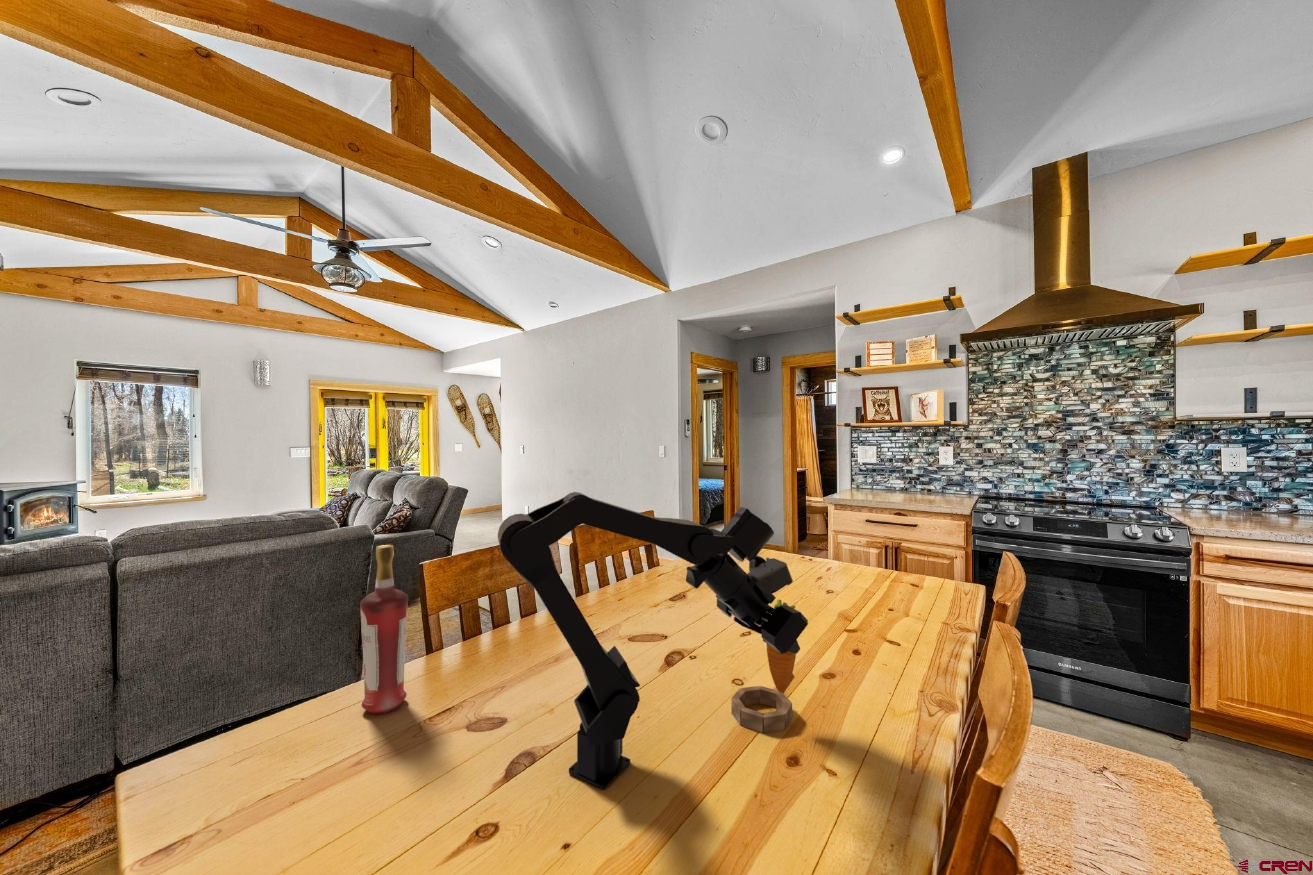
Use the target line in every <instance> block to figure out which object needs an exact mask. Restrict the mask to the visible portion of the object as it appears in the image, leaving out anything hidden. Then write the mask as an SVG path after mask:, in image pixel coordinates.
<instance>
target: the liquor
mask: <svg viewBox="0 0 1313 875" xmlns="http://www.w3.org/2000/svg"><path fill="white" fill-rule="evenodd" d="M375 559H376V564H377V566H376V567H377V568H376V577H375V586H374V591H373V592H371V593H369V594H367V595H366V596H365V597H364V598H363V599H362V600H361V601H360V602H359V604H360V605H359V606H360V607H359V608H360V626H361V628H360V630H361V632H360V633H361V644H362V655H363V657H362V658H363V681H364V682H363V686H364V698H363V700H362V702H361V707H362V709H364V710H366V711H367V712H369V713H371V714H373V715H383V714H387V713H391V712H392V711H394V710H396V709H397V708H398V707H399V706H400V705H401V704H402V703H403V701H405V699H406V698H407V696H408V694H407V692H406V691H405V660H406V641H407V640H406V639H407V630H408V629H407V627H408V626H407V625H408V607H409V606H408V604H409V595H408V594H407V593H406V592H404V591H403V590H402V589H397V588H395V582H394V572H393V561H394V560H393V559H394V545H393V544H385V545H384V544H382V545H377V546H376V547H375Z"/></svg>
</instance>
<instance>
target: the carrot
mask: <svg viewBox="0 0 1313 875" xmlns="http://www.w3.org/2000/svg"><path fill="white" fill-rule="evenodd" d="M782 605H788V606H790V607H792V608H794V609H796V606H795V605H793V604H792V605H789V604H788V603H787V602H783V603H782V599H778V600H776V603H775V604H773V608H774V609H775V608H777V607H779V606H782ZM766 653H767V655H766V656H767V662H768V666H769V667H768V668H769V672H770V674H771V678H772V681H773V683H774V686H775V688H777V690H778V691H779V692H780V693H781V692H782V693H783V692H784V691H785V689H786V688H787V686H788V684H789V683H790V681H791V678H792V677H793V672H794V667H795V663H796V662H795V661H796V657H797V654H795V653H792V652H789V651H787V653H784V654H781V653H780V652H778V651H777V650H775V649H774V648H773V647H771V646H770V645H768V644H767V643H766ZM791 676H792V677H791Z"/></svg>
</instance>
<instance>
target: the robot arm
mask: <svg viewBox="0 0 1313 875" xmlns="http://www.w3.org/2000/svg"><path fill="white" fill-rule="evenodd" d="M580 525H586V526H590V527H593V528H597V529H600V530H603V531H607V532H611V533H614V534H618V535H621V536H624V537H629V538H631V539H636V540H638V541H641V542H646V543H649V544H653V545H655V546H657V547H659V548H661V549H663V550H665V551H666V552H669V553H670V554H672V555H674V556H676V557H677V558H680V559H682V560H684V561H686V562H688V563H690V564H692V566H687V567H686V574H685V576H686V577H685V582H686V583H687V584H688V585H689V586H691V587H693V588H694V589H699V588H700V587H701V585H702V584H703V583H704V584H705V585H707V587H708V588H709V589H710V590H711V591H712V592H713V593H714V594H715V596H714V597H715V598H716V607H717V608H718V609H719V610H720V611H721V612H722V613H723V614H724V615H726V616H727V617H728V618H731V617H733V621H734V622H735V623H737V624H738V625H740V626H741V627H742V628H743V627H744V628H746V629H748V630H750V631H752V632H754V633H757V634H759V635H761V638H762V642H764V643H765V644H766V645H767V644H768V645H770V646H771V647H773V648H774V649H775V650H777V651H778V652H780V653H781V654H784V653H787V651H789V652H792V653H795V654H796V655H797V654H798V653H799V652H800V650H801V647H800V645H799V642H798V638H799V637H800V636H801V634H802V633H803V632H804V631H805V629H806V628H807V627H808V625H809V622H808V619H807V618H806V617H805V615H804V614H803V613H802V612H801V611H799V610H797V609H796V608H792V607H790V606H791V605H789V604H788V605H782V606H779V607H777V608H775V609H774V606H773V607H772V606H771V604H772V603H773V602H774V601H775V600H776V597H777V596H775V595H774V594H775V593H777V592H778V591H780V590H781V589H783V588H785V587H786V586H790V585H792V583H793V582H794V580H793V577H792V575H791V572H790V570H789V568H788V564H787V562H785V561H782V560H779V559H778V558H773V557H772V558H769V557H766V558H765V559H764V558H763V556H760V555H758V554H759V553H760V552H761V551H762V550H763V549H764V548H765V546H766V544H767V543H768V542H769V541H770V540H771V539H772V537H774V535H775V532H774V530H773V528H772V526H770V525H769V524H768V523H767V522H765V521H763V520H762V519H761V518H760V517H759V516H757V515H755V514H754V513H752V511H751V510H750V509H749V508H746V507H744V506H743V507H742V506H741V507H739V508H738V509H737V510H736V512H735V513H734V515H733V517H732V518H731V519H730V520H729V522H727V524H726V525H725V526H724V527H723V528H722V529H721V531H720V530H717V529H715V528H712V527H711V528H708V527H707V526H705V525H702V524H700V523H697V522H694V521H692V520H689V519H680V518H672V517H658V516H657V517H656V516H655V517H654V516H652V515H648V514H645V513H642V512H639V511H634V510H633V509H629V508H625V507H622V506H618V505H615V504H612V503H608V502H605V501H603V500H599V499H596V498H593V497H590V496H588V495H586V494H583V493H582V492H580V491H579V492H578V491H573V492H569V493H567V494H566V495H565V496H564V497H561V498H559V499H558V500H555V501H553V502H551V503H547V504H545V505H543V506H541V507H538V508H536V509H534V510H532V511H531V512H530V511H529V513H527V514H525V513H514V514H513V515H509V516H507V518H505V519H504V520H502V523H501V524H500V525H499V529H498V531H497V541H498V544H499V549H500V552H501V554H502V556H503V557H504V559H505V560H506V561H507V562H508V563H509V564H510V565H511V567H512V568H514V570H515V571H516V572H517V573H518V574H519V575H520V576H521V577H522V578H523V579H524V580H525V581H526V582H528V584H529V585H531V587H532V588H533V589H534V590H535V591H536V593H537V595H538V596H539V598H540V600H541V601H542V604H543V605H544V606H545V608H546V610H547V611H548V613H549V614H550V616H551V618H552V619H553V621H554V623H555V625H556V626H557V627H558V629H559V631H560V632H561V634H562V635H563V638H564V639H565V641H566V642H567V644H568V646H569V647H570V649H571V650H572V652H573V654H574V655H575V658H576V659H577V660H578V662H579V664H580V665H581V666H580V667H581V669H582V672H583V676H584V678H585V681H586V686H585V687H584V688H583V690H582V691H581V692H580V693H579V694H578V695H577V696H576V698H575V699H574V705H575V708H576V710H577V713H578V715H579V719H580V721H581V722H580V724H579V730H578V731H577V732H576V733H577V734H576V736H577V737H576V740H577V741H576V742H577V743H576V745H577V746H576V748H577V749H576V751H577V752H576V753H577V754H576V762H575V763H573V764H572V765H570V766H569V768H568V774H569V775H571V776H573V777H576V778H577V779H579V780H581V781H583V782H586V783H588V784H590V785H592V786H595V787H596V788H599V789H601V790H605V789H607V788H608V787H609V786H611V784H612V783H613V782H614V781H615V780H616V779H617V778H618V777H619V776H620V775H621V774H622V773H623V772H624V771H625V770H626V769H627V768H628V767H629V766H630V765H631V759H630V758H628V757H626V756H624V755H623V739H624V738H625V735H626V732H627V730H628V726H629V724H630V720H631V717H632V716H633V715H634V714H635V713H636V712H637V708H638V707H639V706H638V705H639V703H640V701H641V698H640V694H639V691H638V689H637V688H639V687H640V686H641V684H640V683H639V681H638V680H637V678H636V677H635V675H634V673H633V672H632V671H631V669H630V667H629V665H628V663H627V662H626V660H625V658H624V657H623V656H622V654H621V653H620V651H619V650H618V648H617V646H615V645H613V646H612V648H610V650H609V651H608V650H606V648H605V647H603V645H601V643H600V642H599V640H598V638H597V636H596V635H595V633H594V631H593V630H592V628H591V627H590V625H589V623H588V621H587V620H586V618H585V616H584V615H583V613H582V611H581V609H580V608H579V606H578V604H577V603H576V601H575V599H574V598H573V596H572V594H571V593H570V591H569V589H568V587H567V586H566V585H565V582H564V581H563V580H562V578H561V576H560V574H559V573H558V568H557V566H556V562H555V560H554V556H553V553H552V551H551V550H552V549H551V548H550V546H551V545H554V544H555V543H556V542H558V541H560V540H561V539H562V538H563V537H566V536H567V535H568V534H569V533H570V532H572V531H573V530H574V529H575V528H577V527H579V526H580ZM733 558H735V559H736V560H737V561H739V562H740V563H741V562H742V563H743V562H744V561H745V560H747V561H748V563H749V564H748V570H749V572H748V573H746V571H745V570H743V568H742V567H741V566H740V565H739V564H738V563H737V562H736V561H735V560H734V559H733Z"/></svg>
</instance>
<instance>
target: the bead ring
mask: <svg viewBox="0 0 1313 875" xmlns="http://www.w3.org/2000/svg"><path fill="white" fill-rule="evenodd" d="M730 700H731V703H730V704H731V711H730V712H731V715H732V716H733V718H734V719H735V720H736V722H737V723H738V724H739V726H741V727H743V728H746V729H749V730H752V731H755V732H758V733H760V734H762V733H764V734H768V733H772V732H773V733H774V732H778V731H779V732H781V731H785V730H787V728H788V726H789V725H790V723H791V721H792V720H793V702H792V701H791V700H790V699H789V698H788V697H787V696H786V695H785V694H784V693H783V691H782V692H781V693H780V692H779V691H778V690H775V688H774V689H772V688H771V687H766V686H763V685H754V686H753V685H752V686H747V687H746V686H744V687H740V688H738V690H737V691H736V692H735V693H734V695H732V697H731V699H730ZM758 704H761V705H765V706H767V707H771V708H773V709H774V708H775V709H776V710H775V711H768V712H761V711H757V710H754V709H751V708H747V707H746V706H752V705H758Z"/></svg>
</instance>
